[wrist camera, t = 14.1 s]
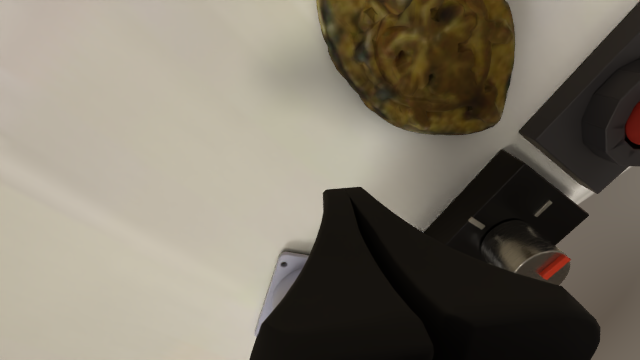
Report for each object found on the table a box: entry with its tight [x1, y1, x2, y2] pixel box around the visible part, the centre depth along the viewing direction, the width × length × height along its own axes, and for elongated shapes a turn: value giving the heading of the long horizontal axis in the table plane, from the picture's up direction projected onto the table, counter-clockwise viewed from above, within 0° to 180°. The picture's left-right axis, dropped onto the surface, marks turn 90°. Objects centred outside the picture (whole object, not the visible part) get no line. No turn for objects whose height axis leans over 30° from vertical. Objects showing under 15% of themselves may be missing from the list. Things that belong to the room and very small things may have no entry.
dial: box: [481, 220, 570, 285], centre depth 22 cm, size 4×4×4 cm
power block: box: [519, 3, 640, 194], centre depth 21 cm, size 10×8×4 cm
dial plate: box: [424, 150, 589, 263], centre depth 25 cm, size 10×8×3 cm
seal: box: [317, 0, 515, 135], centre depth 17 cm, size 9×5×15 cm
